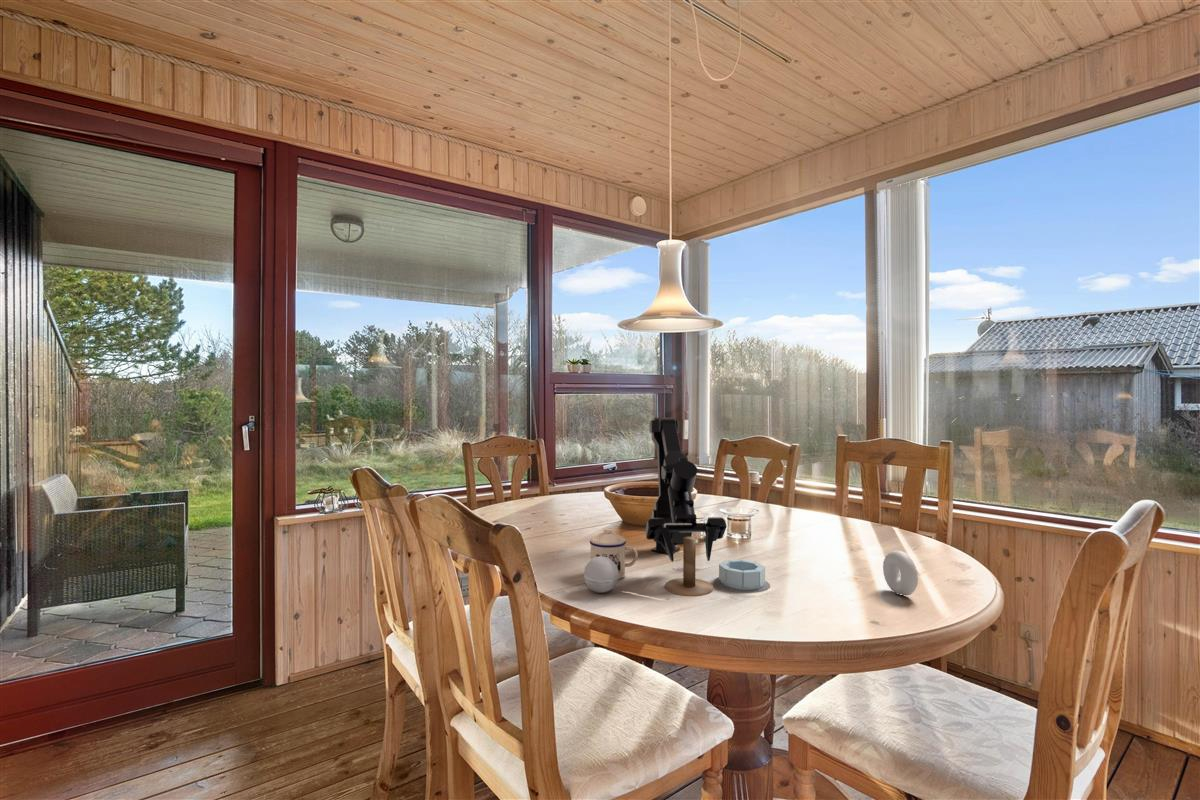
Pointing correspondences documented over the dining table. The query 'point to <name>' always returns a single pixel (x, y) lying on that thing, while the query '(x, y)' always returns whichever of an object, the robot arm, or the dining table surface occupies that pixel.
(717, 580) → the trivet
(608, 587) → the bath bomb
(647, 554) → the dining table surface
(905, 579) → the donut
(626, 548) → the teacup with lid
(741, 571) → the bowl
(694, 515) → the robot arm
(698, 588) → the lid
